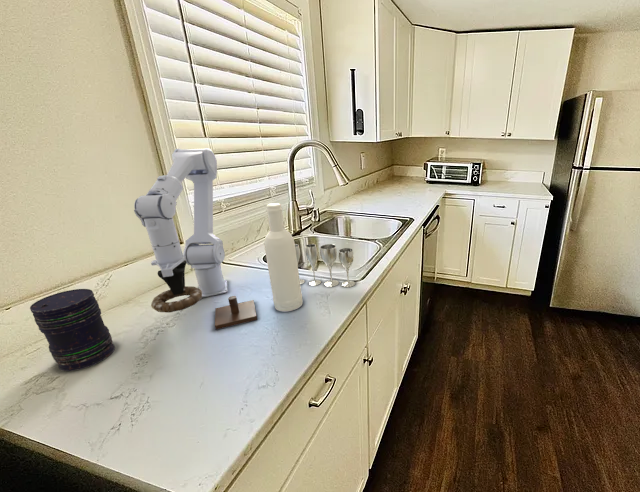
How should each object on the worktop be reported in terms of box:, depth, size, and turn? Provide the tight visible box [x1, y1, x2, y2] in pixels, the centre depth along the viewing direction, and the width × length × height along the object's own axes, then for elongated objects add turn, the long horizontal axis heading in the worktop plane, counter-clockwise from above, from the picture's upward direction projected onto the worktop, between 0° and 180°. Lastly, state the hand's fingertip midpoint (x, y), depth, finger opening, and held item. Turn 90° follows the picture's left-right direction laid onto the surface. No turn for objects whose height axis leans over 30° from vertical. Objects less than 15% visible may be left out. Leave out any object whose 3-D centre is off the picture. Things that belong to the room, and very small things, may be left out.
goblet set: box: [295, 243, 356, 288], centre depth 106 cm, size 28×6×13 cm, turn 84°
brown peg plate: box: [214, 295, 258, 331], centre depth 89 cm, size 10×10×6 cm
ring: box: [150, 285, 202, 313], centre depth 83 cm, size 11×11×2 cm
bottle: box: [263, 202, 304, 313], centre depth 90 cm, size 8×8×30 cm
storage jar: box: [29, 288, 116, 372], centre depth 72 cm, size 10×10×15 cm
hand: (179, 291), depth 86 cm, fingers closed on ring, 2 cm apart
